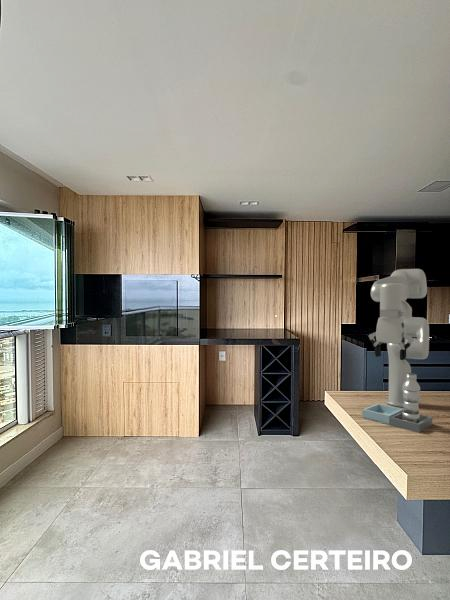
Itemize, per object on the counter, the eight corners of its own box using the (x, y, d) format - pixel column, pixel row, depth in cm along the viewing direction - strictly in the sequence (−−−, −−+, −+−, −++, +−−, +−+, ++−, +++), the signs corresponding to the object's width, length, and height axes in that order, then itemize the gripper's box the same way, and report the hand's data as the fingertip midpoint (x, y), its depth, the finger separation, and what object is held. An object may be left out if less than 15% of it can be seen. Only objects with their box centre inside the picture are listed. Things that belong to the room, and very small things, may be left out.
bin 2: (403, 417, 148) (403, 410, 148) (432, 424, 139) (432, 416, 139) (389, 424, 138) (389, 417, 138) (419, 432, 130) (419, 424, 130)
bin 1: (377, 411, 156) (377, 403, 156) (403, 417, 148) (403, 409, 148) (362, 417, 146) (362, 409, 146) (389, 424, 138) (389, 416, 138)
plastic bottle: (418, 423, 141) (418, 373, 141) (421, 428, 135) (422, 376, 135) (400, 421, 143) (401, 371, 143) (403, 426, 137) (403, 375, 137)
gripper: (417, 315, 134) (417, 359, 134) (373, 313, 148) (373, 354, 148) (409, 315, 130) (408, 362, 130) (364, 313, 143) (364, 356, 143)
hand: (390, 357), depth 139 cm, fingers open, 9 cm apart
